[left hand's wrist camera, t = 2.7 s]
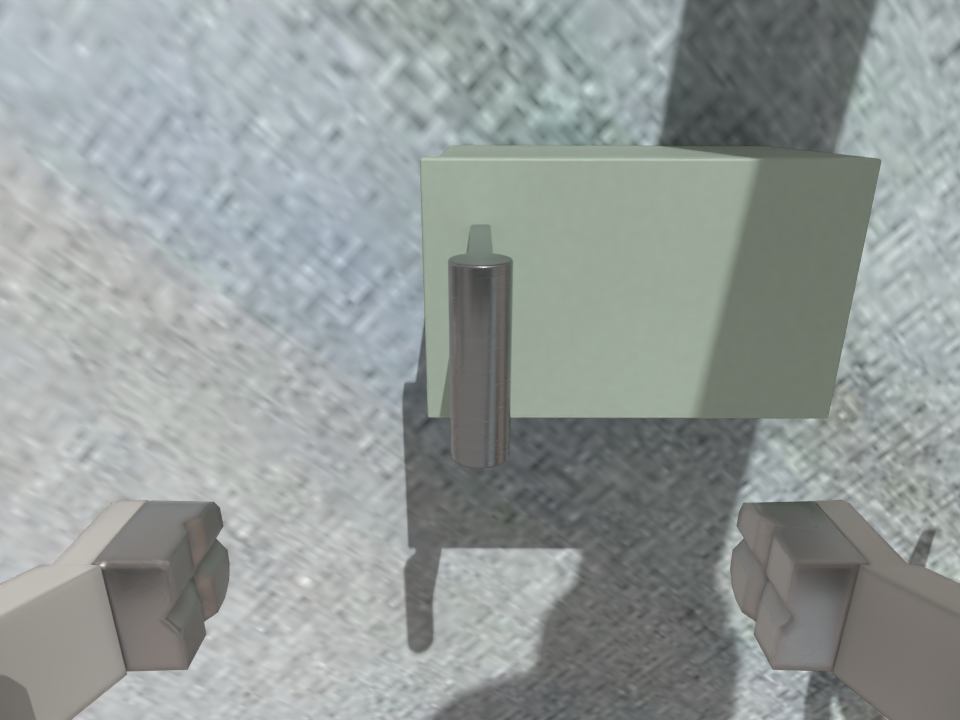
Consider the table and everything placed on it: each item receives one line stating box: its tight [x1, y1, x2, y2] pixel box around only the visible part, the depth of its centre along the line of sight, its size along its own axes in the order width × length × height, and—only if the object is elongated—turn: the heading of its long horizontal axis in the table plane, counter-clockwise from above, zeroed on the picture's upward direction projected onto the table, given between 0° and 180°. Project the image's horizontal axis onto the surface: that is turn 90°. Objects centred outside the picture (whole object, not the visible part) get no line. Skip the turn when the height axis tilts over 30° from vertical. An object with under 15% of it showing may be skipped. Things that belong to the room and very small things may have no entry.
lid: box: [420, 157, 881, 468], centre depth 21 cm, size 16×10×8 cm, turn 90°
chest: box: [440, 145, 860, 157], centre depth 29 cm, size 15×10×9 cm, turn 90°
